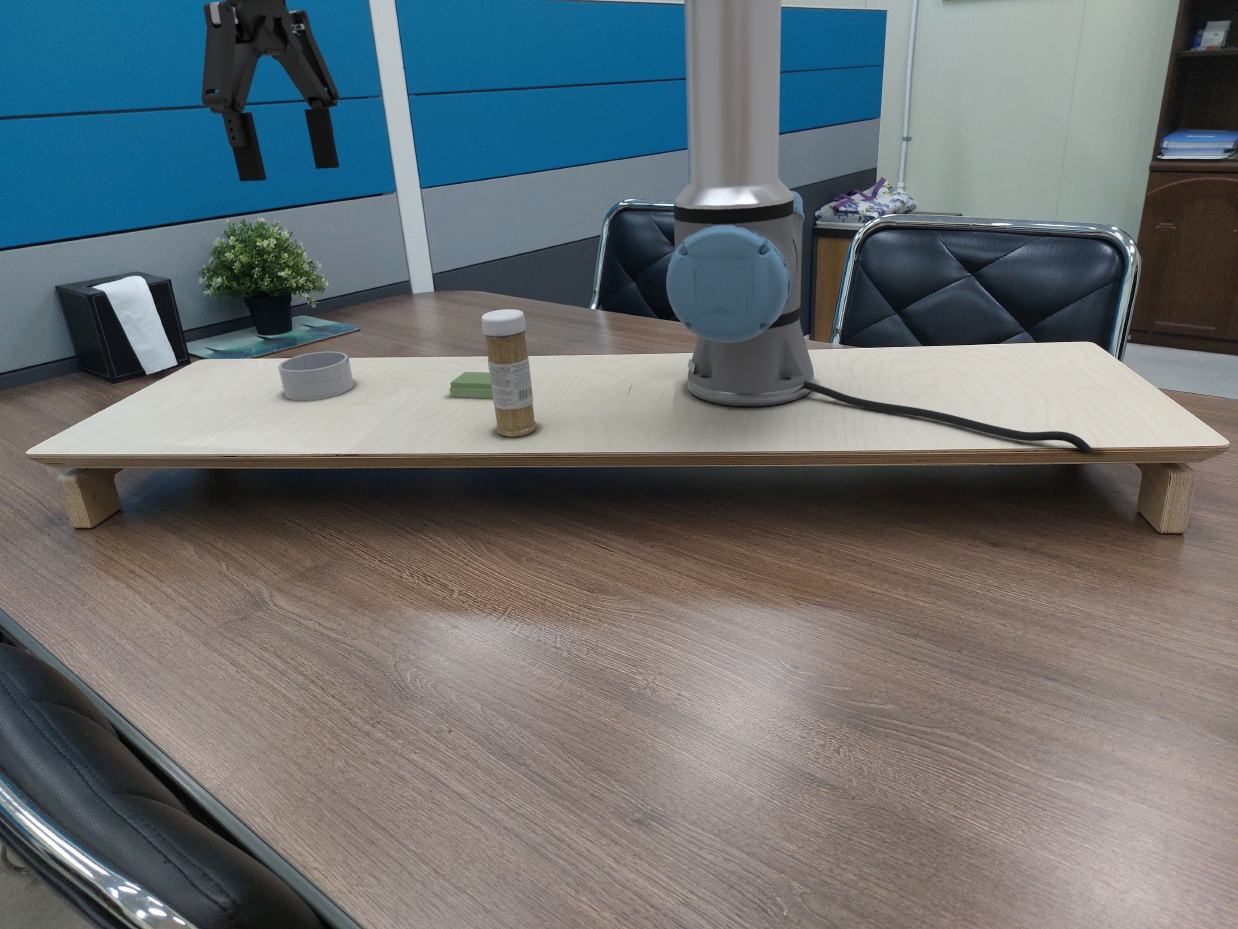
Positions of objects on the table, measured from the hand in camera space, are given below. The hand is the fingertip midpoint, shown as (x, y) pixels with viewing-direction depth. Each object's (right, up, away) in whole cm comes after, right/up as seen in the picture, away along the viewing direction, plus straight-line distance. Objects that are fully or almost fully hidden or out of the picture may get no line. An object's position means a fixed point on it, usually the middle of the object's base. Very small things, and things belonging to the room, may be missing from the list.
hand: (293, 174), depth 93 cm
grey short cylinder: (-4, -22, +20) cm, 30 cm away
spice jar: (+25, -29, +1) cm, 38 cm away
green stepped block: (+19, -23, +14) cm, 33 cm away
